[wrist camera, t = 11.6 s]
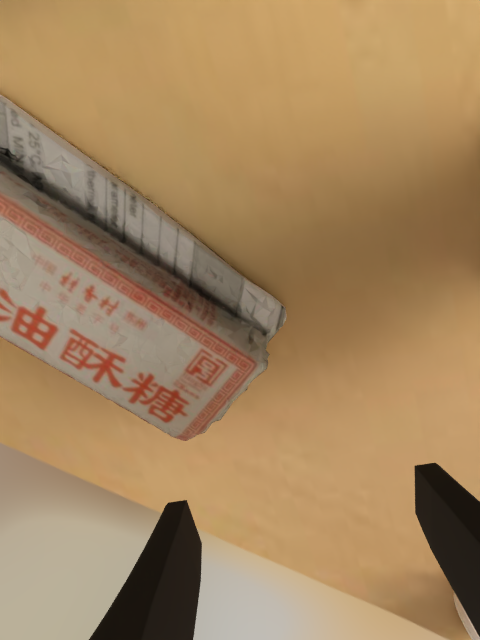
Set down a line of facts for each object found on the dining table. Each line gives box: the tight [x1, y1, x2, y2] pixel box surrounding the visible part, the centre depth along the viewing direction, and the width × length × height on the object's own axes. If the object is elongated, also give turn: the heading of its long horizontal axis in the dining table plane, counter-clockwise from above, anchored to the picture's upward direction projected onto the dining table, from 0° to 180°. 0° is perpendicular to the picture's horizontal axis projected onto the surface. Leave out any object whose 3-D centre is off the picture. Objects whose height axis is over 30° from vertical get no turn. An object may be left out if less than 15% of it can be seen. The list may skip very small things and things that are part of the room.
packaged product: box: [0, 95, 286, 441], centre depth 17 cm, size 18×5×10 cm
